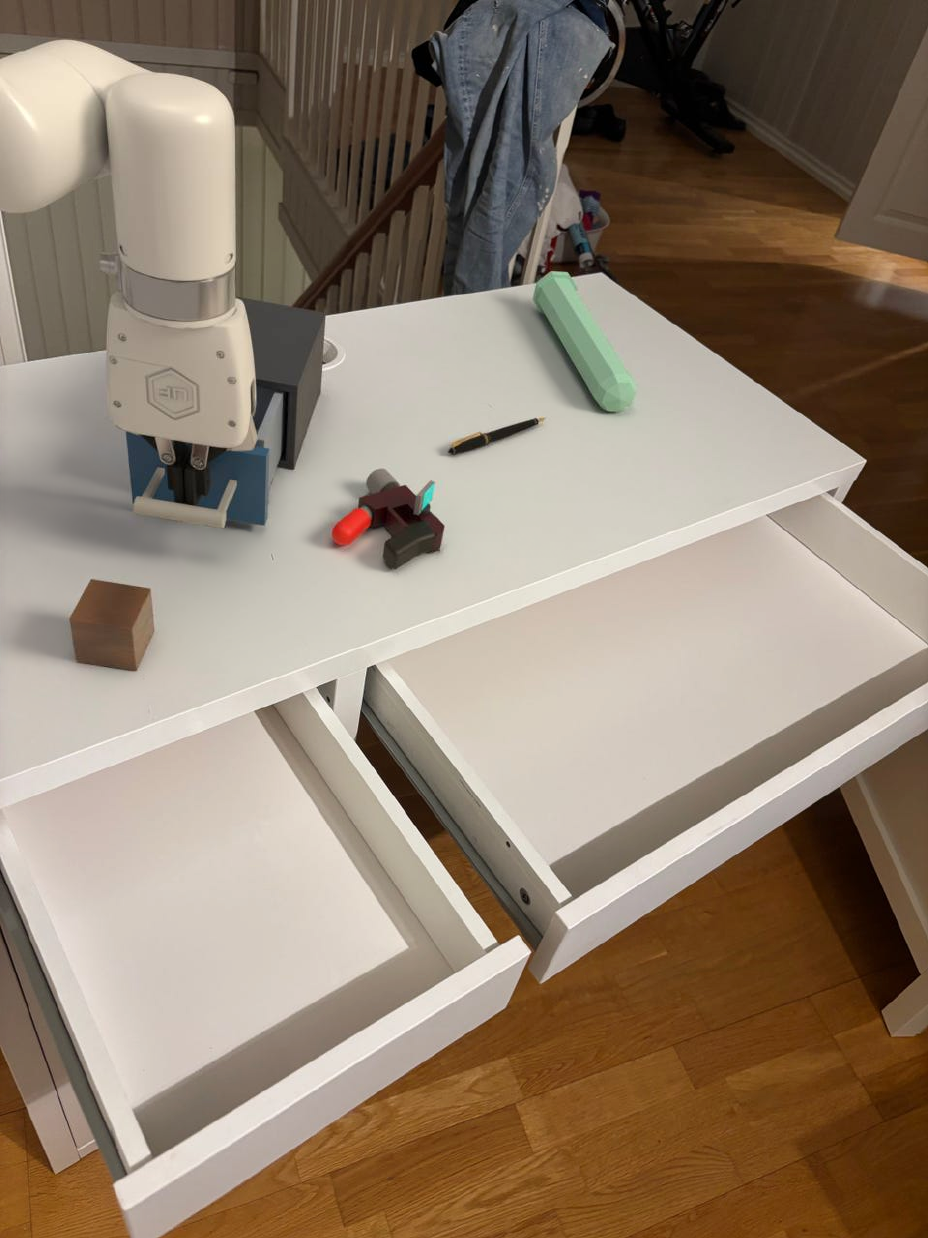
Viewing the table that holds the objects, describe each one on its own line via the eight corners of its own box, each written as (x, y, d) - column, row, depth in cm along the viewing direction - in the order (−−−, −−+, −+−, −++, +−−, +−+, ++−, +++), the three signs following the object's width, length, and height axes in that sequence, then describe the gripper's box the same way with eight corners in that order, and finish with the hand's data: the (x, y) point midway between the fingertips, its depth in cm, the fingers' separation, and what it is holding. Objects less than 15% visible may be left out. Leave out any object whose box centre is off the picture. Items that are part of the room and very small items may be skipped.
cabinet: (293, 470, 90) (297, 385, 84) (160, 446, 89) (155, 360, 83) (320, 392, 100) (325, 312, 94) (202, 371, 100) (199, 289, 93)
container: (644, 369, 103) (573, 263, 119) (592, 386, 103) (528, 278, 119) (647, 412, 107) (578, 304, 124) (598, 428, 107) (536, 318, 124)
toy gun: (385, 479, 91) (390, 437, 88) (455, 553, 85) (464, 510, 81) (295, 503, 86) (297, 460, 83) (363, 584, 80) (368, 540, 77)
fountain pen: (542, 419, 104) (545, 408, 103) (549, 425, 103) (552, 413, 102) (442, 454, 96) (444, 442, 95) (450, 460, 95) (452, 448, 94)
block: (75, 662, 69) (68, 619, 66) (96, 620, 72) (90, 578, 69) (136, 671, 69) (131, 629, 66) (154, 630, 72) (151, 588, 69)
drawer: (249, 568, 78) (250, 497, 73) (110, 545, 77) (101, 472, 72) (294, 441, 92) (298, 374, 87) (177, 420, 91) (173, 352, 86)
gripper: (47, 286, 61) (80, 510, 74) (277, 327, 62) (271, 541, 75) (88, 241, 67) (112, 456, 79) (298, 279, 67) (290, 486, 80)
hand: (189, 497), depth 77 cm, fingers closed
